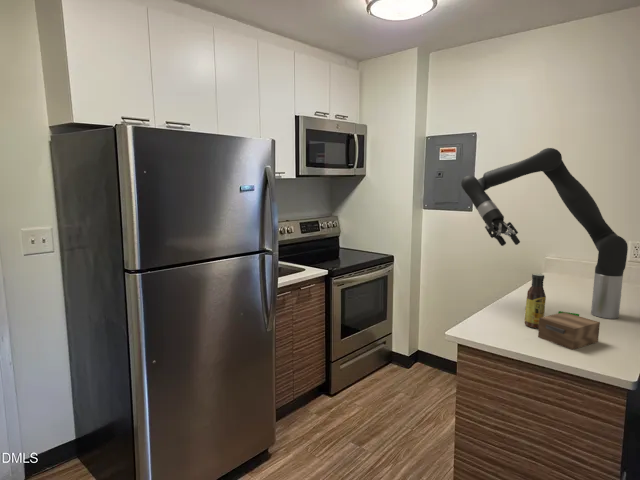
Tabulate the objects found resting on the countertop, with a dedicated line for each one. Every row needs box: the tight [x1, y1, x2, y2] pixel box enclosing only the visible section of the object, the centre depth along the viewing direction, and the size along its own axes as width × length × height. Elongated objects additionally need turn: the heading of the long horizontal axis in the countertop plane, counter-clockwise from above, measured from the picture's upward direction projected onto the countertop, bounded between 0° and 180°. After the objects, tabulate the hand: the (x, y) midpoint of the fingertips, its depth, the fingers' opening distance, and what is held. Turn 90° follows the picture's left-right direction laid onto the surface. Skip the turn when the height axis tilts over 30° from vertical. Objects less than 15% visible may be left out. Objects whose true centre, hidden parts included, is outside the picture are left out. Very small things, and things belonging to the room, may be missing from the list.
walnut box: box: [537, 311, 601, 350], centre depth 136 cm, size 15×12×7 cm
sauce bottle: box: [524, 273, 547, 329], centre depth 149 cm, size 6×6×20 cm
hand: (511, 244), depth 162 cm, fingers open, 8 cm apart
